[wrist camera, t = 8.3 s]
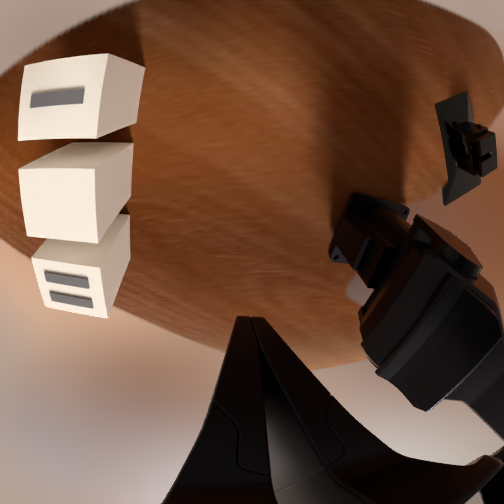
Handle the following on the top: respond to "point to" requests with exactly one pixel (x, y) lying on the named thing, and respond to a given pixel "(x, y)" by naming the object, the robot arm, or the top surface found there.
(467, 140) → the black angular block
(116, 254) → the marked block two
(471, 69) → the top surface
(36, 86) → the marked block one
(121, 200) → the plain block
